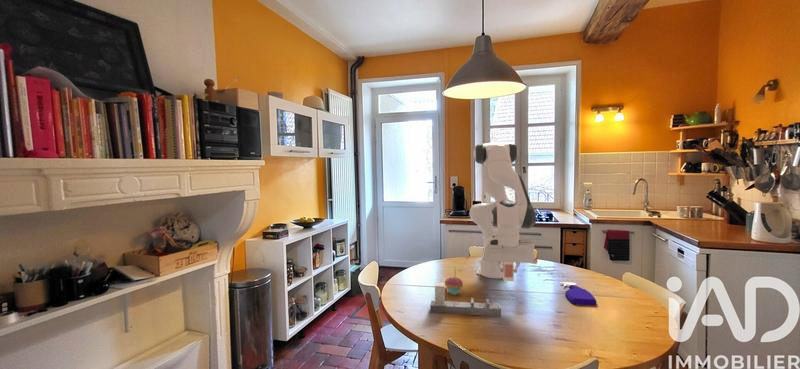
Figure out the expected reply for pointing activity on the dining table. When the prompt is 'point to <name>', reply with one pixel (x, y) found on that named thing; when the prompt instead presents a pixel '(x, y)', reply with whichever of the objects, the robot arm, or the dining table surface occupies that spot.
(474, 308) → the rail
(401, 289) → the dining table surface
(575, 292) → the purple flat bottle
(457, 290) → the cupcake
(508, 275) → the finger block
